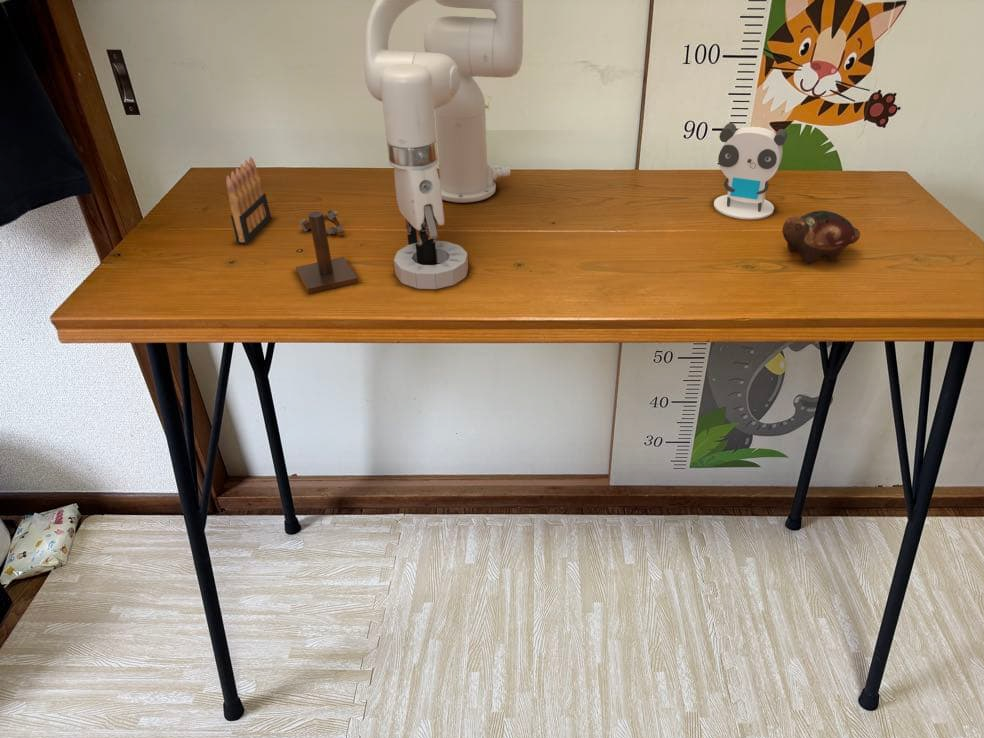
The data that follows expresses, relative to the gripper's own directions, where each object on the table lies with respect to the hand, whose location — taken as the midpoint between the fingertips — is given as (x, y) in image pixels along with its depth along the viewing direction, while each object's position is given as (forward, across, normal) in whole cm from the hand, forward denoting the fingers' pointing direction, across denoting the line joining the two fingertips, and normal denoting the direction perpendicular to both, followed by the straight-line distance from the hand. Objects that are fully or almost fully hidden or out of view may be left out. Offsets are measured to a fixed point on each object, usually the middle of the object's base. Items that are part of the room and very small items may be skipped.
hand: (423, 258), depth 129 cm
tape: (0, -4, 0) cm, 4 cm away
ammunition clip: (+1, +25, +23) cm, 34 cm away
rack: (+1, +2, +16) cm, 16 cm away
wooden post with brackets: (+1, +19, +12) cm, 22 cm away
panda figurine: (+1, -6, -63) cm, 63 cm away
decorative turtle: (+1, -28, -61) cm, 67 cm away
